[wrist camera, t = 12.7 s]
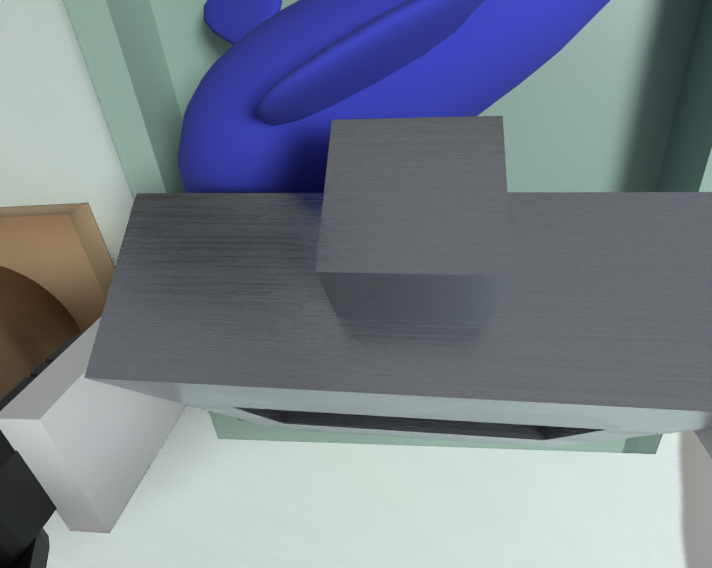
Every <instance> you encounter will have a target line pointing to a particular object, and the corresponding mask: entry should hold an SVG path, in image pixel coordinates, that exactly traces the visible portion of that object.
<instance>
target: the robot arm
mask: <svg viewBox="0 0 712 568" xmlns="http://www.w3.org/2000/svg"><path fill="white" fill-rule="evenodd" d="M101 317H102V316H101ZM101 317H100V318H99V319H98V320H97V321H96V322H95V323H94V324H93V325H92V326H90V327H89V328H87V329H85V330H84V331H82V332H80V333H79V334H77V335H75V336H74V337H72V338H70V339H69V340H67V341H65V342H64V343H63V344H62V345H61V346H59V347H58V348H57V349H56V350H55V351H54V352H53V353H52V354H51V355H50V356H49V357H47V358H46V362H45V363H41V364H40V365H39V366H38V367H37V368H35V369H34V370H33V371H32V372H31V373H30V377H26V378H25V379H23V380H22V381H21V382H20V383H19V384H18V385H17V386H16V387H15V388H14V389H13V390H11V391H10V392H9V393H8V394H7V395H6V396H5V397H4V398H3V399H2V400H1V401H0V568H46V565H47V559H48V553H49V537H48V535H47V533H46V532H45V530H44V529H43V526H44V525H45V524H46V522H47V521H48V520H49V518H50V517H51V515H52V514H53V513H54V511H55V510H56V511H57V512H58V514H59V515H60V517H61V518H62V520H63V521H64V522H65V524H66V525H67V527H68V528H69V530H70V531H83V532H97V533H110V532H111V530H112V528H113V527H114V525H115V524H116V522H117V520H118V519H119V517H120V515H121V514H122V512H123V510H124V509H125V507H126V505H127V504H128V502H129V500H130V499H131V497H132V495H133V494H134V492H135V490H136V489H137V487H138V485H139V484H140V482H141V480H142V479H143V477H144V475H145V474H146V472H147V470H148V469H149V467H150V465H151V464H152V462H153V460H154V459H155V457H156V455H157V454H158V452H159V450H160V449H161V447H162V445H163V444H164V442H165V440H166V439H167V437H168V435H169V434H170V432H171V430H172V429H173V427H174V425H175V424H176V422H177V420H178V419H179V417H180V415H181V414H182V412H183V410H184V409H185V407H186V405H185V404H181V403H177V402H174V401H170V400H166V399H162V398H158V397H155V396H151V395H147V394H143V393H139V392H136V391H132V390H128V389H124V388H120V387H117V386H113V385H109V384H105V383H101V382H98V381H94V380H90V379H86V378H84V377H85V373H86V370H87V366H88V362H89V359H90V355H91V352H92V348H93V345H94V341H95V338H96V334H97V331H98V327H99V324H100V320H101ZM694 432H695V433H696V435H697V436H698V438H699V439H700V441H701V443H702V444H703V446H704V447H705V449H706V450H707V452H708V453H709V455H710V456H711V458H712V428H708V429H699V430H694Z"/></svg>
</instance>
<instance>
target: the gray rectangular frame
mask: <svg viewBox="0 0 712 568" xmlns="http://www.w3.org/2000/svg"><path fill="white" fill-rule="evenodd" d="M84 378H86V379H90V380H94V381H98V382H101V383H105V384H109V385H113V386H117V387H120V388H124V389H128V390H132V391H136V392H139V393H143V394H147V395H151V396H155V397H158V398H162V399H166V400H170V401H174V402H177V403H181V404H185V405H189V406H193V407H196V408H200V409H204V410H208V411H212V412H215V413H219V414H223V415H227V416H230V417H234V418H238V419H242V420H246V421H249V422H253V423H257V424H261V425H265V426H268V427H272V428H276V429H287V430H302V431H317V432H332V433H347V434H363V435H378V436H393V437H408V438H424V439H439V440H454V441H469V442H484V443H500V444H515V445H530V446H545V447H556V446H564V445H573V444H581V443H589V442H598V441H606V440H615V439H623V438H632V437H640V436H648V435H657V434H665V433H674V432H682V431H691V430H699V429H708V428H712V192H507V177H506V161H505V145H504V128H503V116H470V117H427V118H384V119H341V120H332V123H331V132H330V141H329V151H328V160H327V169H326V178H325V187H324V193H136V196H135V200H134V203H133V207H132V210H131V214H130V218H129V221H128V225H127V228H126V232H125V235H124V239H123V242H122V246H121V249H120V253H119V256H118V260H117V263H116V267H115V271H114V274H113V278H112V281H111V285H110V288H109V292H108V295H107V299H106V302H105V306H104V309H103V313H102V317H101V320H100V324H99V327H98V331H97V334H96V338H95V341H94V345H93V348H92V352H91V355H90V359H89V362H88V366H87V370H86V373H85V377H84Z"/></svg>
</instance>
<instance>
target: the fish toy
mask: <svg viewBox="0 0 712 568" xmlns="http://www.w3.org/2000/svg"><path fill="white" fill-rule="evenodd" d="M609 1H610V0H298V1H297V2H295V3H293V4H291V5H289V6H288V7H286V8H284V9H282V10H281V4H282V0H207V1H206V3H205V4H204V21H205V23H206V24H207V25H208V26H209V28H210V29H211V30H212V31H213V33H215V34H216V35H218V36H220V37H221V38H223V39H224V40H226V41H227V42H229V43H231V44H232V45H233V46H232V47H231V48H230V49H228V50H227V51H226V52H225V53H224V54H223V55H222V56H221V57H220V58H219V59H218V60H217V61H216V62H215V63H214V64H213V65H212V66H211V68H210V69H209V70H208V72H207V73H206V74H205V75H204V77H203V78H202V80H201V81H200V83H199V85H198V87H197V89H196V91H195V92H194V94H193V96H192V98H191V100H190V102H189V104H188V106H187V109H186V111H185V114H184V117H183V124H182V131H181V138H180V145H179V152H178V167H179V171H180V175H181V179H182V183H183V187H184V190H185V192H186V193H324V187H325V178H326V169H327V160H328V151H329V141H330V132H331V123H332V120H341V119H384V118H427V117H470V116H478V115H479V114H480V113H482V112H483V111H484V110H486V109H487V108H488V107H490V106H491V105H493V104H494V103H495V102H497V101H498V100H499V99H501V98H502V97H503V96H505V95H506V94H507V93H509V92H510V91H511V90H513V89H514V88H515V87H517V86H518V85H519V84H521V83H522V82H523V81H524V80H526V79H527V78H528V77H529V76H530V75H532V74H533V73H534V72H535V71H537V70H538V69H539V68H540V67H541V66H543V65H544V64H545V63H546V62H547V61H549V60H550V59H551V58H552V57H553V56H555V55H556V54H557V53H558V52H559V51H561V50H562V49H563V48H564V47H565V46H566V45H567V44H568V43H569V42H570V41H571V40H572V39H573V38H574V37H575V36H576V35H577V34H578V33H579V32H580V31H581V30H582V29H583V28H584V27H585V26H586V24H587V23H588V22H589V21H590V20H591V19H592V18H593V17H594V16H595V15H596V14H597V13H598V12H599V11H600V10H601V9H602V8H603V7H604V6H605V5H606V4H607V3H608V2H609ZM280 10H281V11H280Z"/></svg>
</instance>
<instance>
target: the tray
mask: <svg viewBox="0 0 712 568" xmlns="http://www.w3.org/2000/svg"><path fill="white" fill-rule="evenodd" d="M63 1H64V3H65V6H66V9H67V12H68V15H69V18H70V20H71V23H72V26H73V29H74V32H75V34H76V37H77V40H78V43H79V46H80V49H81V51H82V54H83V57H84V60H85V63H86V66H87V68H88V71H89V74H90V77H91V80H92V83H93V85H94V88H95V91H96V94H97V97H98V100H99V102H100V105H101V108H102V111H103V114H104V117H105V119H106V122H107V125H108V128H109V131H110V133H111V136H112V139H113V142H114V145H115V148H116V150H117V153H118V156H119V159H120V162H121V165H122V167H123V170H124V173H125V176H126V179H127V182H128V184H129V187H130V190H131V193H132V196H133V199H134V200H135V196H136V193H186V192H185V190H184V187H183V183H182V179H181V175H180V171H179V167H178V152H179V145H180V138H181V131H182V124H183V117H184V114H185V111H186V109H187V106H188V104H189V102H190V100H191V98H192V96H193V94H194V92H195V91H196V89H197V87H198V85H199V83H200V81H201V80H202V78H203V77H204V75H205V74H206V73H207V72H208V70H209V69H210V68H211V66H212V65H213V64H214V63H215V62H216V61H217V60H218V59H219V58H220V57H221V56H222V55H223V54H224V53H225V52H226V51H227V50H228V49H230V48H231V47H232V46H233V45H232V44H231V43H229V42H227V41H226V40H224V39H223V38H221V37H220V36H218V35H216V34H215V33H213V31H212V30H211V29H210V28H209V26H208V25H207V24H206V23H205V21H204V4H205V3H206V1H207V0H63ZM297 1H298V0H282V4H281V10H282V9H284V8H286V7H288V6H289V5H291V4H293V3H295V2H297ZM281 10H280V11H281ZM478 116H503V128H504V145H505V161H506V177H507V192H712V0H610V1H609V2H608V3H607V4H606V5H605V6H604V7H603V8H602V9H601V10H600V11H599V12H598V13H597V14H596V15H595V16H594V17H593V18H592V19H591V20H590V21H589V22H588V23H587V24H586V26H585V27H584V28H583V29H582V30H581V31H580V32H579V33H578V34H577V35H576V36H575V37H574V38H573V39H572V40H571V41H570V42H569V43H568V44H567V45H566V46H565V47H564V48H563V49H562V50H561V51H559V52H558V53H557V54H556V55H555V56H553V57H552V58H551V59H550V60H549V61H547V62H546V63H545V64H544V65H543V66H541V67H540V68H539V69H538V70H537V71H535V72H534V73H533V74H532V75H530V76H529V77H528V78H527V79H526V80H524V81H523V82H522V83H521V84H519V85H518V86H517V87H515V88H514V89H513V90H511V91H510V92H509V93H507V94H506V95H505V96H503V97H502V98H501V99H499V100H498V101H497V102H495V103H494V104H493V105H491V106H490V107H488V108H487V109H486V110H484V111H483V112H482V113H480V114H479V115H478ZM209 414H210V416H211V419H212V422H213V425H214V428H215V431H216V433H217V436H218V439H241V440H269V441H298V442H327V443H355V444H384V445H412V446H441V447H470V448H498V449H527V450H556V451H584V452H613V453H642V454H656V451H657V448H658V446H659V443H660V440H661V437H662V434H657V435H648V436H640V437H632V438H623V439H615V440H606V441H598V442H589V443H581V444H573V445H564V446H556V447H545V446H530V445H515V444H500V443H484V442H469V441H454V440H439V439H424V438H408V437H393V436H378V435H363V434H347V433H332V432H317V431H302V430H287V429H276V428H272V427H268V426H265V425H261V424H257V423H253V422H249V421H246V420H242V419H238V418H234V417H230V416H227V415H223V414H219V413H215V412H212V411H209Z"/></svg>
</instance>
